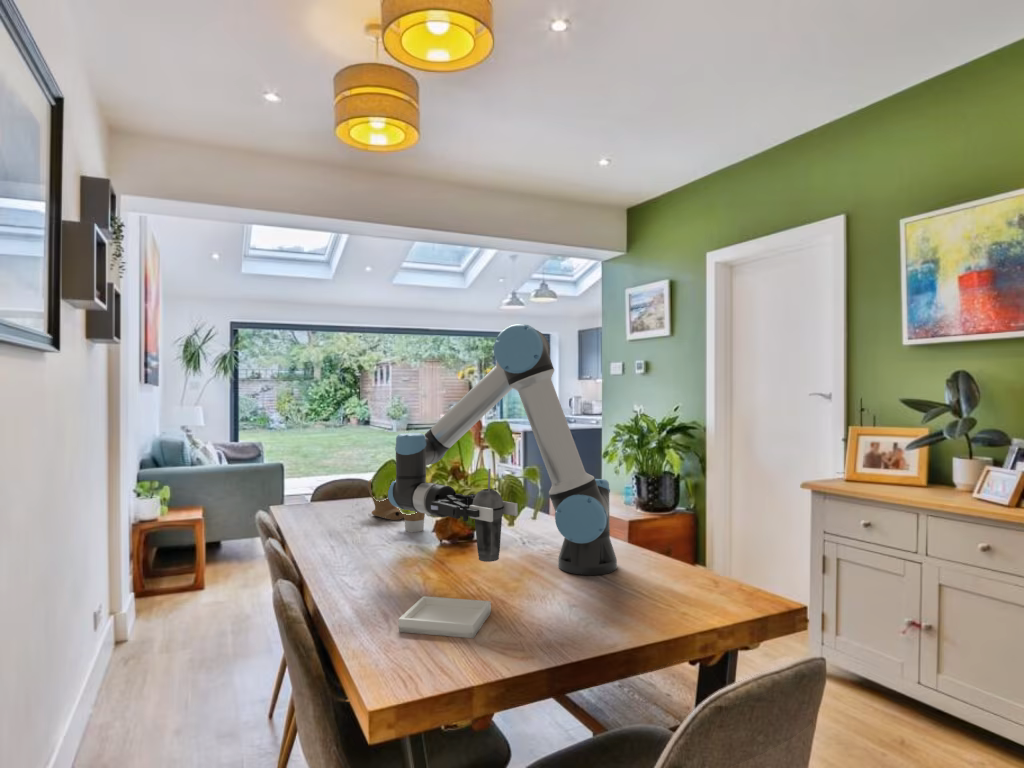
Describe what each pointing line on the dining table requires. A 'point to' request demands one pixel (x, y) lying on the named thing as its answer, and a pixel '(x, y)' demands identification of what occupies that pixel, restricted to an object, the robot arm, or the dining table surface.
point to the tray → (445, 617)
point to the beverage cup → (489, 524)
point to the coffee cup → (414, 522)
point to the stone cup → (385, 508)
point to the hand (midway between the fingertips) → (504, 512)
